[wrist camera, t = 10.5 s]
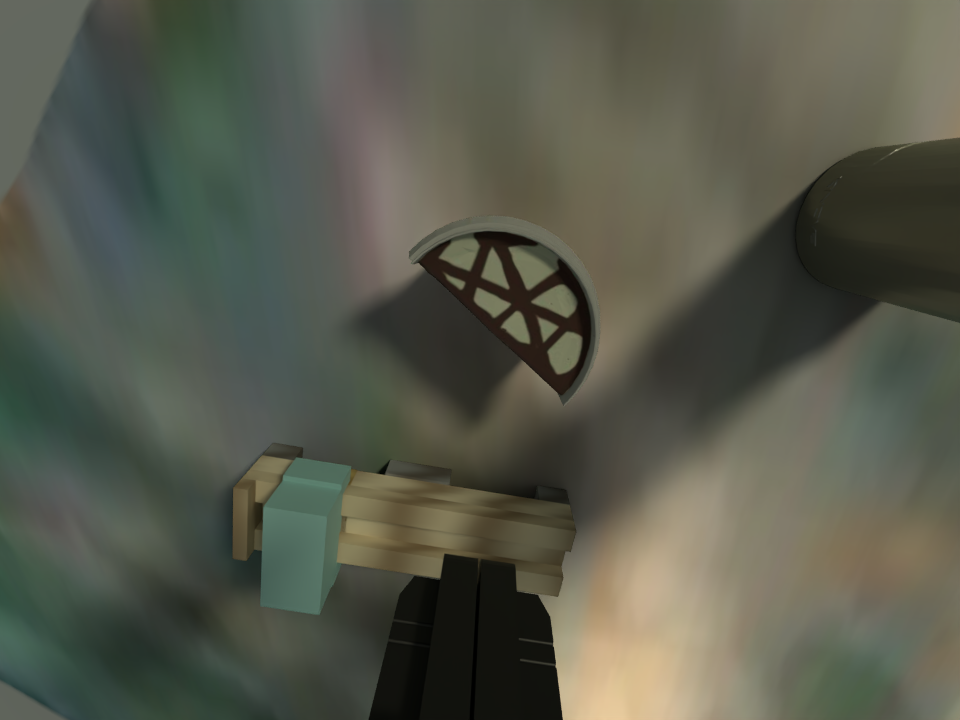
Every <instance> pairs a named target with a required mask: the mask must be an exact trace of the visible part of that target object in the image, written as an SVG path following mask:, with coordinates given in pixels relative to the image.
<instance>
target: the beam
mask: <svg viewBox="0 0 960 720" xmlns="http://www.w3.org/2000/svg"><path fill="white" fill-rule="evenodd" d="M302 454H303V448H302V447H296V446H289V445H283V444H277V443H273V444H272V445H271V446H270V447H269V448H268V449H267V450H266V451H265V453H264V454H263V455H262V456H261V457H260V458H259V459H258V460H257V462H256V463H255V464H254V465H253V466H252V467H251V468H250V469H249V471H248V472H247V473H246V474H245V475H244V476H243V477H242V478H241V480H240V481H239V482H238V483H237V484H236V485H235V486H234V487H233V559H237V560H244V561H247V559H248V558H249V557H250V555H251V554H252V552H253V551H254V550H260V551H262V536H263V507H264V505H265V504H266V503H267V501H268V500H269V498H270V497H271V496H272V494H273V493H274V492H275V490H276V489H277V488H278V486H279V485H280V484H281V482H282V481H283V475H284V473H285V472H286V471H287V469H288V468H289V467H290V465H291V464H292V463H293V461H294V460H295V459H296V457H297V458H302ZM451 471H452V470H451V469H445V468H439V467H433V466H427V465H420V464H414V463H408V462H402V461H396V460H390V462H389V465H388V467H387V470H386V473H385V475H381V474H375V473H369V472H362V471H357V470H354V469H351V475H350V481H349V483H348V485H347V487H346V489H345V491H344V493H343V498H342V509H341V516H342V521H341V530H340V533H339V542H338V553H337V563H344V564H350V565H357V566H363V567H370V568H376V569H382V570H389V571H395V572H402V573H408V574H415V575H421V576H427V577H434V578H440V576H441V570H442V564H443V558H444V553H446V554H452V555H459V556H465V557H472V558H478V567H479V562H480V559H486V560H492V561H499V562H505V563H511V564H515V567H516V584H517V591H524V592H530V593H537V594H543V595H550V596H556V597H558V596H559V592H560V588H561V585H562V581H563V573H562V567H561V566H562V562H563V558H564V555H565V551H569V552H571V549H572V545H573V541H574V538H575V534H576V528H575V524H574V520H573V516H572V512H571V508H570V504H569V500H568V495H567V491H566V490H562V489H555V488H549V487H543V486H537V489H536V493H535V498H534V499H530V498H524V497H518V496H512V495H505V494H499V493H493V492H487V491H481V490H474V489H468V488H462V487H456V486H449V484H450V477H451Z"/></svg>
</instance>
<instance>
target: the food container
mask: <svg viewBox="0 0 960 720" xmlns="http://www.w3.org/2000/svg"><path fill="white" fill-rule="evenodd" d="M409 259H410V260H411V261H412V262H411V264H416V263H420V265H421V266H422V267H424V268H425V270H426V271H427V272H428V273H429V274H431V275H432V276H434V277H435V278H436V279H437V280H438V281H439V282H440V283H441V284H442V285H443V286H444V287H446V288H447V289H448V290H449V291H450V292H451V293H452V294H453V295H454V296H455V297H456V298H457V299H458V300H459V301H460V302H461V303H462V304H463V305H464V306H465V307H466V308H468V309H469V310H470V311H471V312H472V313H473V314H474V315H475V316H476V317H477V318H478V319H479V320H480V321H481V322H482V323H483V324H484V325H485V326H486V327H487V328H488V329H489V330H490V331H491V332H492V333H493V334H494V335H495V336H496V337H497V338H499V339H500V340H501V341H502V342H503V343H504V344H505V345H507V346H508V347H509V348H510V349H511V350H512V351H513V352H514V353H515V354H516V355H518V356H519V357H520V358H521V359H522V360H523V361H524V362H525V363H526V364H527V365H528V366H529V367H530V368H532V369H533V370H534V371H535V372H536V373H537V374H538V375H539V376H540V377H541V378H542V379H543V380H544V381H545V382H547V383H548V384H549V385H550V386H551V387H552V388H553V389H554V390H555V391H556V392H557V393H558V395H559V397H560V399H561V402H562V404H563V406H564V407H565V405H566V404H567V403H568V402H569V401H570V400H571V399H572V398H573V397H574V396H575V395H576V394H577V392H578V391H579V390H580V388H581V387H582V385H583V384H584V382H585V381H586V379H587V377H588V375H589V373H590V371H591V369H592V367H593V364H594V361H595V358H596V355H597V352H598V346H599V339H600V308H599V303H598V298H597V293H596V290H595V287H594V285H593V282H592V279H591V277H590V275H589V273H588V271H587V270H586V268H585V266H584V265H583V263H582V261H581V260H580V259H579V258H578V256H577V255H576V254H575V253H574V252H573V250H572V249H571V248H570V247H569V246H568V245H566V244H565V243H564V242H563V241H562V240H561V239H560V238H558V237H557V236H556V235H554V234H552V233H551V232H549V231H547V230H546V229H544V228H542V227H540V226H538V225H535V224H533V223H530V222H528V221H525V220H521V219H517V218H512V217H507V216H490V215H488V216H479V217H470V218H466V219H463V220H459V221H456V222H452V223H450V224H448V225H446V226H444V227H442V228H440V229H437V230H435V231H434V232H433V233H431V234H430V235H428V236H427V237H425V238H424V239H422V240H421V241H420V242H419V243H418V244H417V245H416V246H415V247H414V248H412V249H411V250H410V251H409Z"/></svg>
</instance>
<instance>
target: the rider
mask: <svg viewBox="0 0 960 720" xmlns="http://www.w3.org/2000/svg"><path fill="white" fill-rule="evenodd" d="M350 475H351V466H347V465H340V464H334V463H328V462H322V461H316V460H309V459H303V458H297V457H296V459H295V460H294V461H293V463H292V464H291V465H290V467H289V468H288V469H287V471H286V472H285V473H284V475H283V481H282V482H281V484H280V485H279V486H278V488H277V489H276V490H275V492H274V493H273V494H272V496H271V497H270V498H269V500H268V501H267V503H266V504H265V505H264V507H263V536H262V568H261V600H260V606H263V607H270V608H276V609H283V610H289V611H296V612H303V613H309V614H316V615H319V614H320V612H321V609H322V607H323V605H324V602H325V600H326V597H327V595H328V593H329V590H330V588H331V586H333V584H334V582H335V579H336V577H337V574H338V572H339V569H340V567H341V565H342V563H337V553H338V542H339V533H340V530H341V521H342V516H341V509H342V498H343V493H344V491H345V489H346V487H347V485H348V483H349V481H350Z"/></svg>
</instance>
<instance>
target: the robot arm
mask: <svg viewBox="0 0 960 720" xmlns="http://www.w3.org/2000/svg"><path fill="white" fill-rule="evenodd" d="M796 243H797V249H798V254H799V256H800V258H801V261H802V263H803V265H804V266H805V268H806V269H807V270H808V271H809V273H810V274H811V275H812V276H813V277H815V278H816V279H817V280H819V281H820V282H821V283H823V284H826V285H828V286H830V287H833V288H836V289H840V290H843V291H847V292H850V293H854V294H858V295H861V296H865V297H868V298H872V299H875V300H878V301H882V302H886V303H889V304H893V305H897V306H900V307H904V308H907V309H911V310H915V311H918V312H922V313H926V314H929V315H933V316H937V317H940V318H944V319H947V320H951V321H955V322H958V323H960V138H952V139H943V140H935V141H925V142H916V143H908V144H900V145H892V146H884V147H875V148H871V149H867V150H863V151H859V152H857V153H855V154H853V155H851V156H848V157H846V158H844V159H842V160H841V161H840V162H838V163H837V164H835V165H834V166H833V167H831V168H830V169H829V170H828V171H827V172H826V173H825V174H824V175H823V176H822V177H821V178H820V179H819V180H818V181H817V182H816V183H815V185H814V186H813V188H812V189H811V190H810V192H809V193H808V195H807V197H806V199H805V201H804V203H803V205H802V207H801V209H800V213H799V217H798V221H797V225H796ZM555 665H556V660H555V652H554V647H553V635H552V627H551V619H550V616H549V614H548V612H547V610H546V609H545V607H544V605H543V603H542V602H541V600H540V598H539V596H538V595H535V594H529V593H522V592H517V584H516V567H515V564H511V563H505V562H499V561H492V560H486V559H480V562H479V567H478V558H472V557H465V556H459V555H452V554H446V553H444V558H443V564H442V570H441V576H440V580H437V579H430V578H424V577H417V576H414V578H413V579H412V580H411V581H410V582H409V584H408V585H407V586H406V587H405V588H404V590H403V591H402V592H401V593H400V595H399V599H398V603H397V607H396V611H395V615H394V620H393V623H392V627H391V631H390V635H389V640H388V643H387V647H386V651H385V655H384V659H383V663H382V668H381V672H380V676H379V680H378V684H377V688H376V692H375V696H374V700H373V704H372V708H371V712H370V716H369V720H563V718H562V710H561V701H560V693H559V685H558V677H557V668H556V667H555Z"/></svg>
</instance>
